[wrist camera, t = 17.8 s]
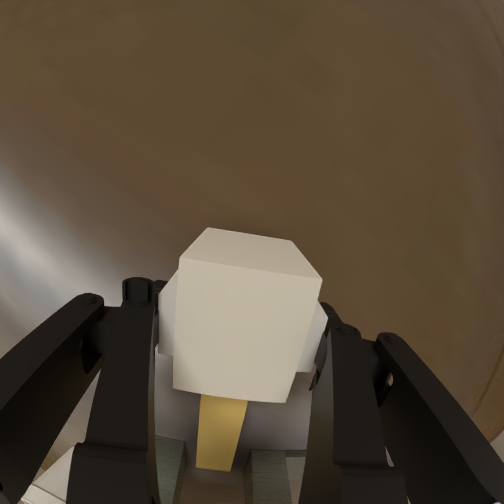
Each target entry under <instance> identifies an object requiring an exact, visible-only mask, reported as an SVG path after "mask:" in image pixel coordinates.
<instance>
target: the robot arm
mask: <svg viewBox="0 0 504 504" xmlns="http://www.w3.org/2000/svg"><path fill="white" fill-rule="evenodd" d="M178 270H179V269H178ZM178 270H177V271H176V273H175V274H174V275H173V277H172V278H171V279H170V280H169V282H168V281H162V280H156V281H152V280H150V279H147V278H142V277H132V278H128V279H125V280H124V281H123V282H122V293H123V302H122V305H121V307H109V306H104V299H103V297H101V296H100V295H97V294H92V293H84V294H81V295H78V296H76V297H75V298H73V299H72V300H71V301H69V302H68V303H67V304H66V305H64V306H63V307H62V308H60V309H59V310H58V311H57V312H55V313H54V314H53V315H52V316H50V317H49V318H48V319H47V320H45V321H44V322H43V323H42V324H40V325H39V326H38V327H37V328H36V329H34V330H33V331H32V332H31V333H30V334H28V335H27V336H26V337H25V338H24V339H22V340H21V341H20V342H19V343H18V344H17V345H16V346H14V347H13V348H12V349H11V350H10V351H9V352H8V353H6V354H5V355H4V356H3V357H2V358H1V359H0V504H17V503H18V502H19V501H20V499H21V498H22V497H23V496H24V494H25V493H26V491H27V490H28V488H29V486H30V485H31V483H32V481H33V479H34V477H35V475H36V474H37V472H38V470H39V468H40V466H41V464H42V462H43V461H44V459H45V457H46V455H47V454H48V452H49V450H50V448H51V447H52V445H53V443H54V441H55V440H56V438H57V436H58V435H59V433H60V431H61V430H62V428H63V426H64V425H65V423H66V421H67V420H68V418H69V417H70V415H71V413H72V412H73V410H74V409H75V407H76V405H77V404H78V402H79V401H80V399H81V398H82V396H83V395H84V393H85V392H86V390H87V388H88V387H89V385H90V384H91V382H92V381H93V379H94V378H95V376H96V375H97V373H98V372H99V371H100V369H101V371H100V375H99V379H98V383H97V387H96V391H95V395H94V399H93V403H92V408H91V412H90V417H89V422H88V427H87V432H86V438H85V441H84V442H83V443H77V444H76V445H75V446H74V450H73V453H72V458H71V464H70V471H69V478H68V486H67V495H66V504H161V501H160V495H159V486H158V476H157V463H156V447H155V421H154V375H155V347H156V346H157V344H158V353H160V354H164V355H169V356H173V351H174V327H175V309H176V295H177V282H178ZM314 362H315V364H316V367H317V369H316V372H315V375H314V378H313V380H312V383H311V386H310V388H309V390H312V388H313V392H312V404H311V415H310V425H309V434H308V443H307V451H306V459H305V466H304V473H303V479H302V486H301V492H300V498H299V503H298V504H408V498H409V501H410V503H411V504H504V463H503V462H502V460H501V459H500V457H499V456H498V455H497V453H496V452H495V450H494V449H493V448H492V446H491V445H490V444H489V442H488V441H487V439H486V438H485V437H484V435H483V434H482V433H481V432H480V430H479V429H478V428H477V426H476V425H475V424H474V422H473V421H472V420H471V419H470V417H469V416H468V415H467V414H466V412H465V411H464V410H463V409H462V407H461V406H460V405H459V404H458V402H457V401H456V400H455V399H454V397H453V396H452V395H451V394H450V393H449V391H448V390H447V389H446V388H445V387H444V385H443V384H442V383H441V382H440V381H439V380H438V378H437V377H436V376H435V375H434V374H433V373H432V371H431V370H430V369H429V368H428V367H427V366H426V364H425V363H424V362H423V361H422V360H421V359H420V358H419V357H418V355H417V354H416V353H415V352H414V351H413V350H412V349H411V348H410V346H409V345H408V344H407V343H406V342H405V341H404V340H403V339H402V338H401V337H399V336H397V335H396V334H394V333H386V332H384V333H380V334H378V337H377V339H376V342H375V341H370V340H366V339H362V338H361V334H360V332H359V330H358V329H356V328H355V327H353V326H351V325H348V324H344V323H343V322H342V321H341V319H340V318H339V316H338V315H337V313H335V311H334V309H333V308H332V307H331V306H330V305H328V304H327V303H324V302H318V300H317V303H316V306H315V310H314V314H313V317H312V321H311V324H310V328H309V331H308V335H307V338H306V341H305V345H304V348H303V351H302V355H301V358H300V361H299V364H298V367H297V370H296V372H311V371H312V368H313V365H314ZM391 375H393V383H392V385H391V386H390V385H389V383H388V381H389V379H390V377H391ZM385 446H386V449H387V451H388V453H389V455H390V457H391V460H392V462H393V464H394V466H395V467H390V466H389V465H388V462H387V455H386V449H385ZM407 496H408V498H407Z"/></svg>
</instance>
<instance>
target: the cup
mask: <svg viewBox="0 0 504 504" xmlns="http://www.w3.org/2000/svg"><path fill="white" fill-rule="evenodd" d="M73 450H74V446H73V447H71V448H70V449H69V450H68V451H67V452H66V453H65V454H64V455H63V456H62V457H61V458H60V459H58V460H57V461H56V462H55V463H54V464H53V465H52V466H51V467H50V468H49V469H48V470H47V471H46V472H44V474H42V475H41V476H40V477H39V478H38V479H37V480H36V481H35V482H34V483H32V484H31V485H30V486H29V488H28V490H27V491H26V493H25V494H24V496H23V497H22V498H21V500H22V501H23V502H24V503H25V504H66V495H67V486H68V478H69V471H70V464H71V458H72V453H73Z"/></svg>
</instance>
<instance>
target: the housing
mask: <svg viewBox="0 0 504 504" xmlns="http://www.w3.org/2000/svg"><path fill="white" fill-rule="evenodd" d="M155 447H156V463H157V476H158V486H159V495H160V501H161V504H179V501H180V495H181V489H182V484H183V478H184V472H185V445H184V441H179V440H174V439H169V438H164V437H160V436H156V435H155ZM306 451H307V450H288V451H281V450H252V451H251V454H250V457H249V461H248V464H247V467H246V470H245V474H244V485H245V504H292V499H291V492H290V485H289V481H291V480H299V478H300V477H301V475H302V474H303V472H304V466H305V459H306Z"/></svg>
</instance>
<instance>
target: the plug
mask: <svg viewBox="0 0 504 504" xmlns="http://www.w3.org/2000/svg"><path fill="white" fill-rule="evenodd" d="M321 283H322V278H321V277H320V276H319V274H318V273H317V272H316V271H315V269H314V268H313V267H312V266H311V264H310V263H309V262H308V261H307V260H306V258H305V257H304V256H303V255H302V253H301V252H300V251H299V250H298V249H297V247H296V246H295V245H294V244H293V242H292V241H289V240H283V239H277V238H271V237H265V236H259V235H253V234H246V233H240V232H234V231H227V230H221V229H215V228H208V227H207V229H206V230H205V231H204V232H203V233H202V234H201V235H200V236H199V237H198V238H197V239H196V240H195V241H194V242H193V243H192V245H191V246H190V247H189V248H188V249H187V250H186V251H185V252H184V253H183V254H182V255H181V257H180V260H179V270H178V282H177V295H176V309H175V327H174V351H173V389H178V390H183V391H188V392H193V393H199V394H201V402H200V414H199V427H198V440H197V455H196V467H198V468H205V469H212V470H220V471H229V472H230V470H231V466H232V463H233V459H234V455H235V451H236V447H237V444H238V440H239V436H240V432H241V428H242V424H243V420H244V416H245V412H246V408H247V404H248V400H250V401H261V402H275V403H286V400H287V397H288V394H289V391H290V388H291V385H292V382H293V379H294V376H295V373H296V370H297V367H298V364H299V361H300V358H301V355H302V351H303V348H304V345H305V341H306V338H307V335H308V331H309V328H310V324H311V321H312V317H313V314H314V310H315V306H316V303H317V299H318V295H319V291H320V287H321Z"/></svg>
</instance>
